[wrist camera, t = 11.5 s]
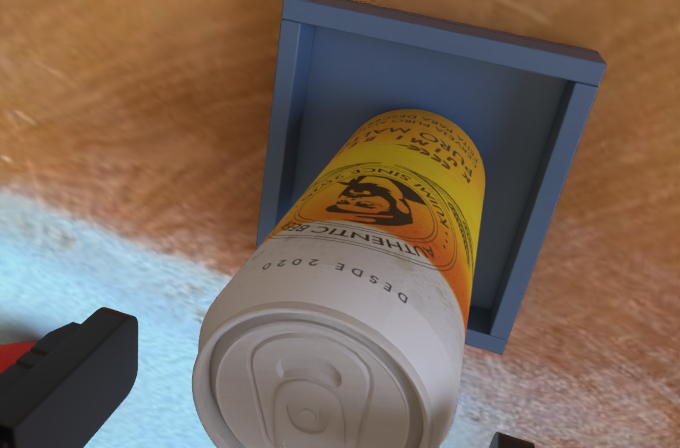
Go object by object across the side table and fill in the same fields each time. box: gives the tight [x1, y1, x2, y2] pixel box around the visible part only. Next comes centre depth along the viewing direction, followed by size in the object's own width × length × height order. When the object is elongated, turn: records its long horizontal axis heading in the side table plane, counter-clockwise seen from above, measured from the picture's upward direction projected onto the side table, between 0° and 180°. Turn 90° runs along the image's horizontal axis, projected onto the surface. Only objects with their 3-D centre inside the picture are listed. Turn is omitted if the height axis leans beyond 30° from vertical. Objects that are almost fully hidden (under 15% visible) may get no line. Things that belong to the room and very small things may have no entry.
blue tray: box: [256, 0, 607, 355], centre depth 25 cm, size 13×12×3 cm
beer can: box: [192, 109, 485, 448], centre depth 19 cm, size 6×6×15 cm
